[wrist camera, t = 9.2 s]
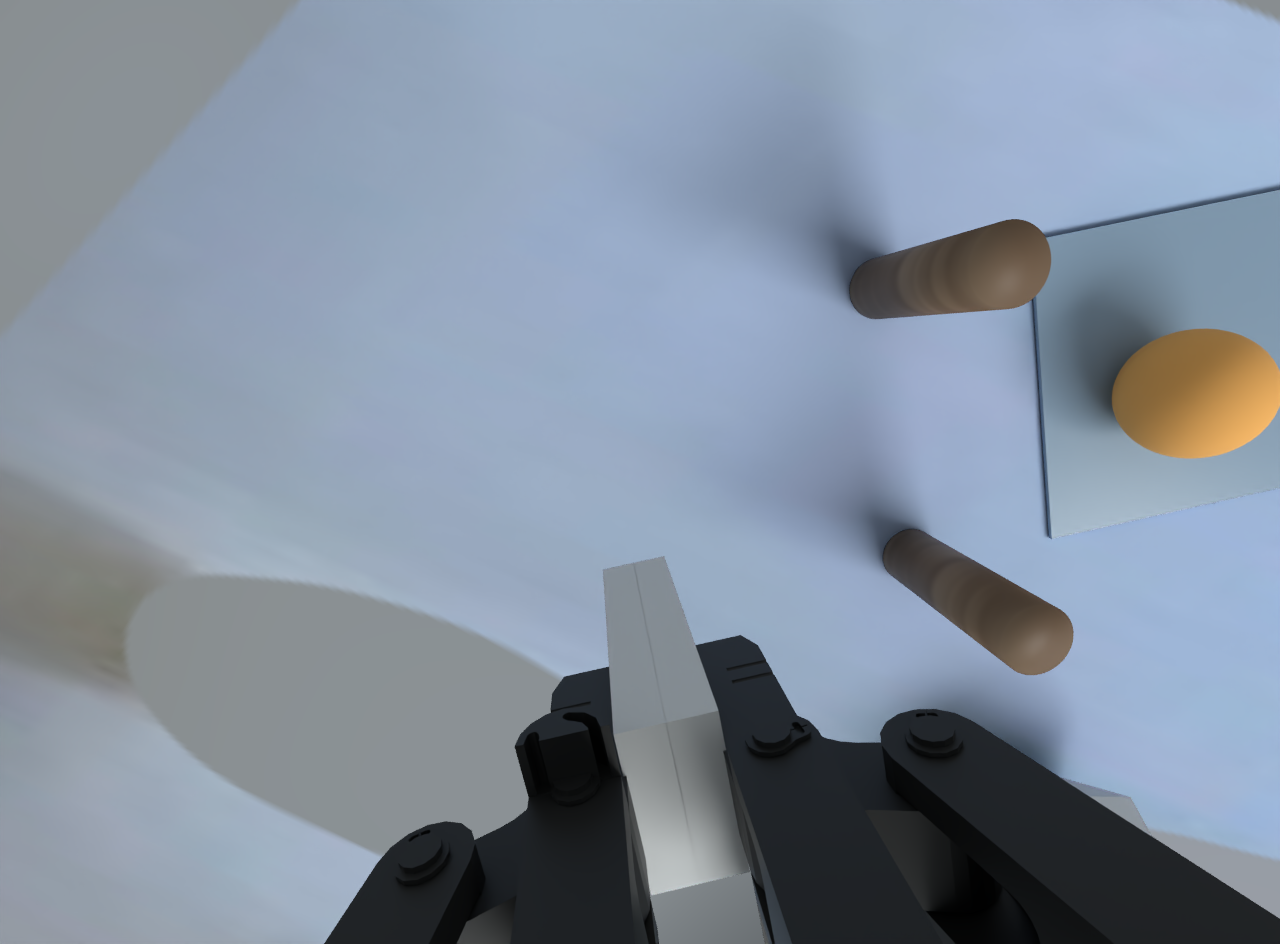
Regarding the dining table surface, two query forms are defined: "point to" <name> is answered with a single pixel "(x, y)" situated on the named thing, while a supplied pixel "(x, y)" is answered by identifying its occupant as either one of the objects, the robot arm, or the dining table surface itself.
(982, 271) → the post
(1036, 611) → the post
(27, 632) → the dining table surface
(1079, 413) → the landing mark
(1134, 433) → the ball
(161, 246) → the dining table surface
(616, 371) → the dining table surface
